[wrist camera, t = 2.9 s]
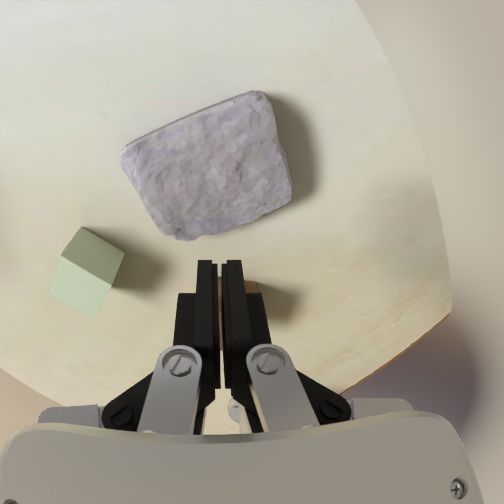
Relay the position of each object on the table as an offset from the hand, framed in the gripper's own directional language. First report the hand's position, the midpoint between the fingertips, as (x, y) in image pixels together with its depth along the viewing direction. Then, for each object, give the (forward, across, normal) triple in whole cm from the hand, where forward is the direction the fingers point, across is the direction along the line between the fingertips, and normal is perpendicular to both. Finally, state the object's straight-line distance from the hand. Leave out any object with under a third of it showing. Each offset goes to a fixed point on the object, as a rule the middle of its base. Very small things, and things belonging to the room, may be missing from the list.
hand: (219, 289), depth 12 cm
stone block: (+15, 0, 0) cm, 15 cm away
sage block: (+14, +12, +8) cm, 20 cm away
